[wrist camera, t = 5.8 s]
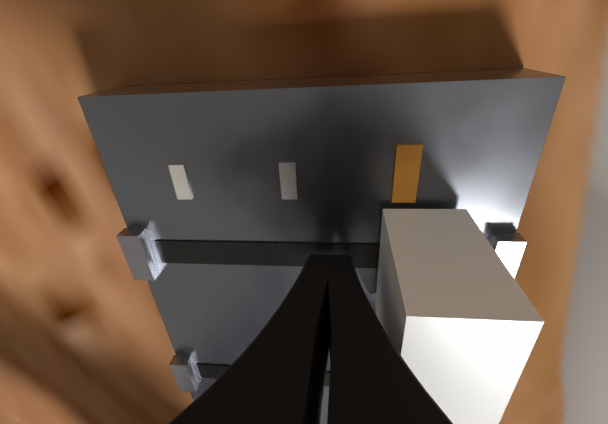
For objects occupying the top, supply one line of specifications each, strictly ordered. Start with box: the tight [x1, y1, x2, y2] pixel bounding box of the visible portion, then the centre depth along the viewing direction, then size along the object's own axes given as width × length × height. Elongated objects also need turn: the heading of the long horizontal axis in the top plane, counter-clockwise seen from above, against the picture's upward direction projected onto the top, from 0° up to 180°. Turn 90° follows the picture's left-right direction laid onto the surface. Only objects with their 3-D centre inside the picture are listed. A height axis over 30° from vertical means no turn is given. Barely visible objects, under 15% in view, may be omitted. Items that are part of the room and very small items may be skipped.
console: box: [78, 68, 565, 424], centre depth 14 cm, size 13×18×2 cm
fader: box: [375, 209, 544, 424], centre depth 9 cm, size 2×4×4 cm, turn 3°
